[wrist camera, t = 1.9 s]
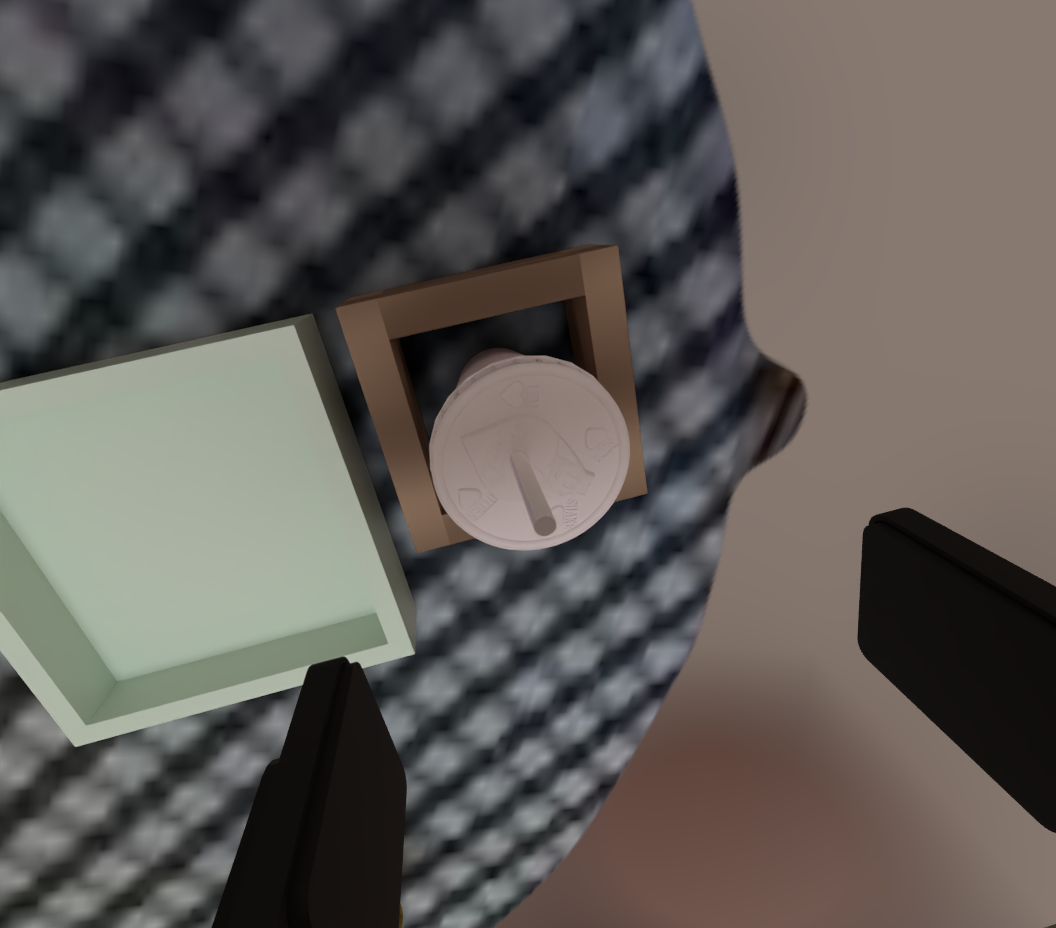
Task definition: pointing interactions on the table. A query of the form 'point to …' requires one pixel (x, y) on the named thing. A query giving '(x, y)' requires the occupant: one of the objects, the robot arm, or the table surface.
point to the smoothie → (527, 450)
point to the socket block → (437, 303)
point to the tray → (189, 531)
